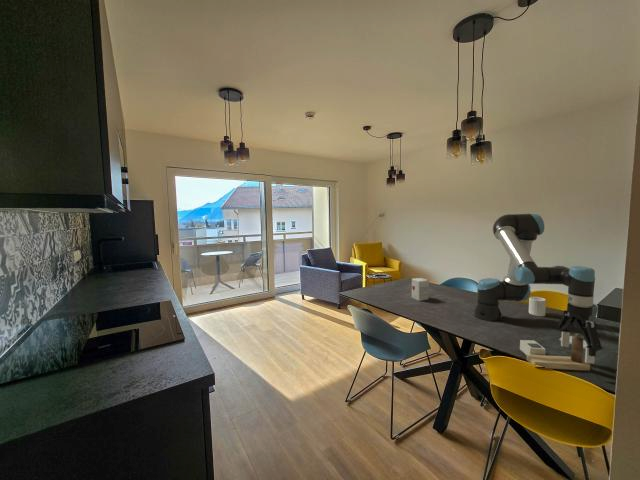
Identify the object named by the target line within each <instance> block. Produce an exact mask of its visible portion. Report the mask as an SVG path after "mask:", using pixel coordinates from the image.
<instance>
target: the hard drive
mask: <svg viewBox="0 0 640 480" xmlns="http://www.w3.org/2000/svg"><path fill="white" fill-rule="evenodd" d="M572 336H573V335H570V340H569V345H572ZM559 341H561V337H560V338H559ZM586 346H588V345H587V343H586V341H585V339H584V340H583V350H584V349H585V350H586Z"/></svg>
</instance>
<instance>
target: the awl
mask: <svg viewBox="0 0 640 480" xmlns="http://www.w3.org/2000/svg"><path fill="white" fill-rule="evenodd" d="M581 335H582V333H578V332H577V333H576V332H575V335H571V336H572V344H571V350H570V351H571V352H570V357H571V360H572V361H574V362H577V363H582V360H583V351H584V348H583V340H585V338H584V337H582V336H581Z"/></svg>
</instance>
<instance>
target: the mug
mask: <svg viewBox="0 0 640 480" xmlns="http://www.w3.org/2000/svg"><path fill="white" fill-rule="evenodd" d="M546 304H547V300H546V298H543V297H539V296H529V298H528V313H529V314H530V315H532V316H535V317H545V316H546V306H547V305H546Z"/></svg>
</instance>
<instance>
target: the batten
mask: <svg viewBox="0 0 640 480" xmlns="http://www.w3.org/2000/svg"><path fill="white" fill-rule="evenodd" d="M526 361H527V362H528V363H529V364H530V363H532V364H535V365H539V366H542V367H545V368H544V369H550V370H551V369H555V370H568V371H569V370H572V371H588V372H590V370H591V363H585V359H582V363H577V362H574V361H572V360H571V356H565V355H563V356H562V355H546V354H545V355H526ZM532 364H531V365H532Z"/></svg>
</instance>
